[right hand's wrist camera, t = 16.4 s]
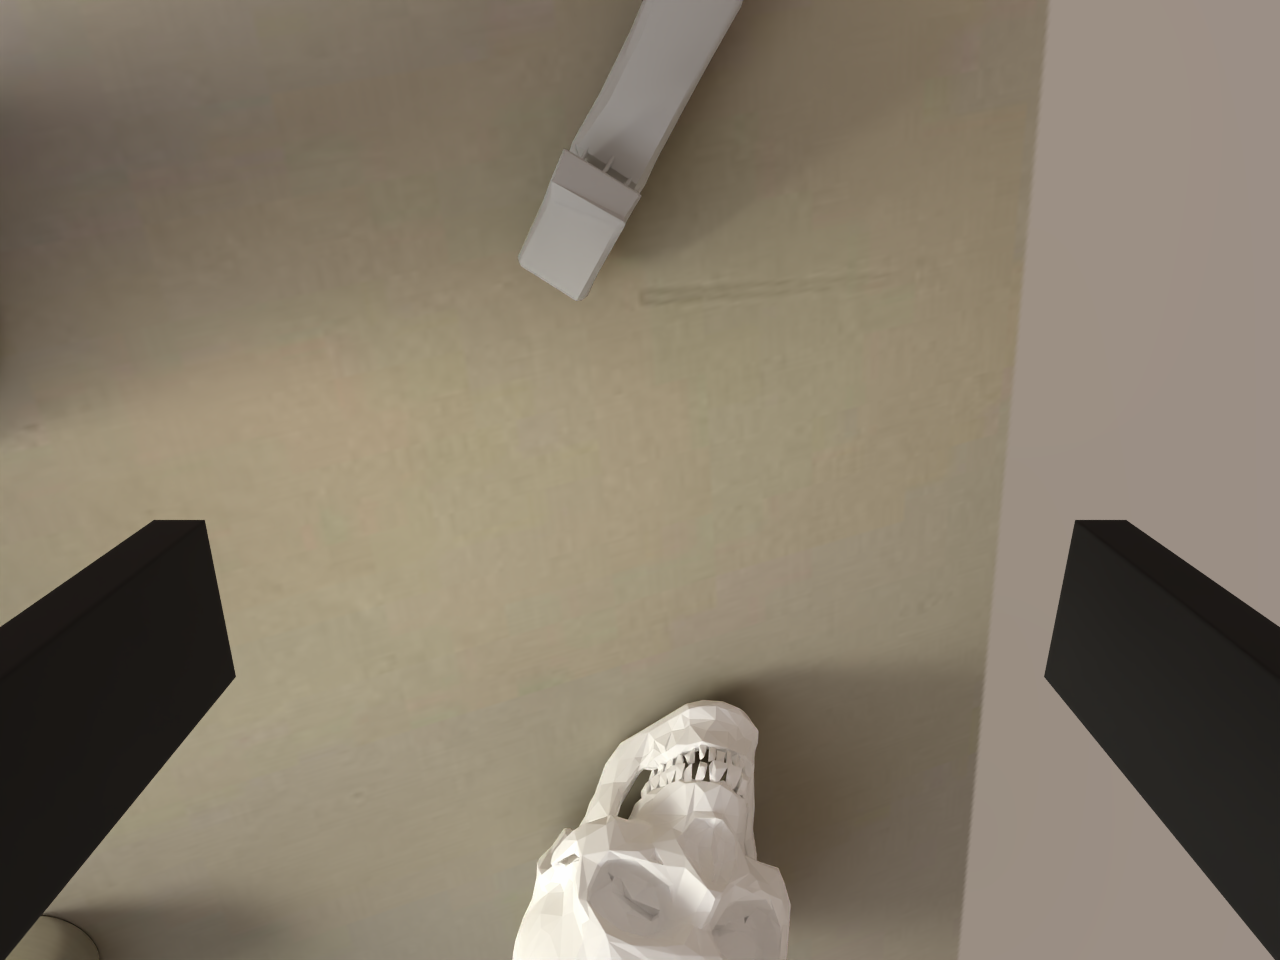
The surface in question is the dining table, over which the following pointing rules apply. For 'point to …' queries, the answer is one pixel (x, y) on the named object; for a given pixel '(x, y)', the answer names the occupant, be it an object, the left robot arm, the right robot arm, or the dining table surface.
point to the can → (54, 942)
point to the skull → (664, 856)
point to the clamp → (622, 139)
